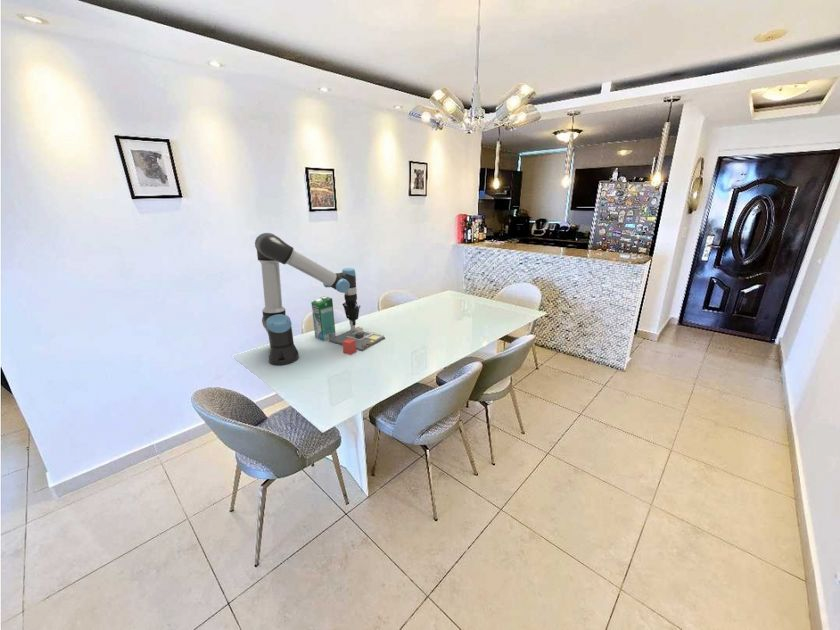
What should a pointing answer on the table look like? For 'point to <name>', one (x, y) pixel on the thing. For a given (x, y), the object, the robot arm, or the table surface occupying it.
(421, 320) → the table surface
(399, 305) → the table surface
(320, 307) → the milk carton
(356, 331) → the cream orange-banded box
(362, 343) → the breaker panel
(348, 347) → the red rectangular block
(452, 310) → the table surface
